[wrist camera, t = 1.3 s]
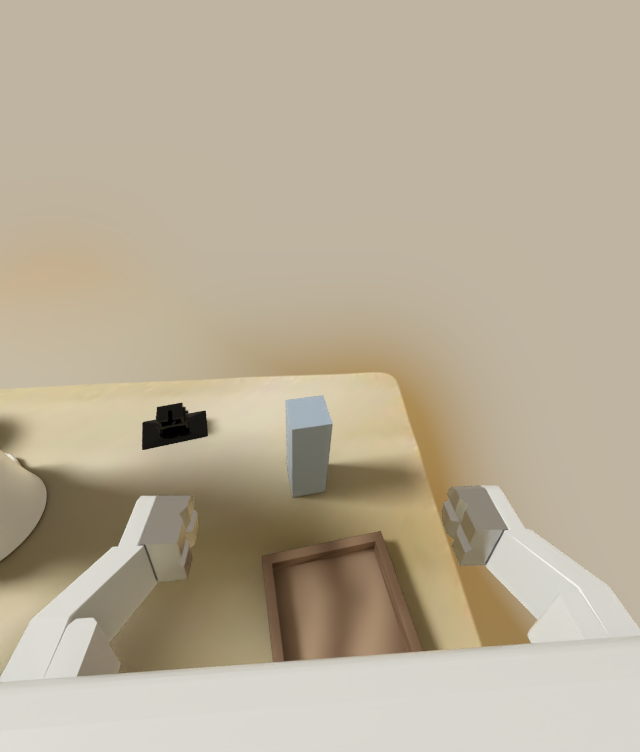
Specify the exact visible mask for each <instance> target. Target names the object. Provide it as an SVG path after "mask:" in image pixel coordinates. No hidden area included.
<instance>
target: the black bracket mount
mask: <svg viewBox="0 0 640 752" xmlns="http://www.w3.org/2000/svg"><path fill="white" fill-rule="evenodd" d="M206 436H208V431H207V420H206V411H200V412H195V413H189V414H188V410H186V407H183V403H178V404H172V405H167V406H161V407H157V412H156V420H152V421H146V422H143V431H142V450H145V449H150V448H155V447H159V446H164V445H169V444H174V443H178V442H183V441H188V440H192V439H197V438H202V437H206Z"/></svg>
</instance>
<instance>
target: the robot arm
mask: <svg viewBox="0 0 640 752" xmlns="http://www.w3.org/2000/svg"><path fill="white" fill-rule="evenodd" d="M447 495H448V498H449V500H447V501H446V502H445V503H444V504H443V507H442V522H443V526H444V528H445V531H446V533H447V534H448V535H449V536H451V537H452V538H453V542H452V548H453V551H454V553H455V556H456V558H457V560H458V563H459V565H460V566H465V565H466V566H467V565H486V568H488V570H490V572H492V574H493V575H494V576H495V577H496V578H497V579H498V580H499V581H500V582H501V583H502V584H503V585H504V586H505V587H506V588H507V589H508V590H509V591H510V592H511V593H512V594H513V595H514V596H515V597H516V598H517V599H518V600H519V601H520V602H521V603H522V604H523V605H524V606H525V607H526V608H527V609H528V610H529V611H530V612H531V613H532V614H533V615H534V616H535V617H536V618H537V619H538V620H537V621H536V622H535V624H534V625H533V626H532V628H531V629H530V630H529V632H528V637H529V639H530V641H531V643H530V644H516V645H504V646H489V647H475V648H461V649H447V650H433V651H420V652H406V653H392V654H378V655H365V656H351V657H337V658H323V659H310V660H296V661H282V662H269V663H255V664H241V665H227V666H214V667H200V668H186V669H173V670H159V671H145V672H131V673H119V670H120V666H121V662H120V661H119V659H118V657H117V655H116V654H115V652H114V650H113V649H112V647H111V645H110V642H111V641H112V640H113V639H114V637H115V636H116V635H117V634H118V632H119V631H120V630H121V629H122V627H123V626H124V625H125V624H126V622H127V621H128V620H129V619H130V617H131V616H132V615H133V614H134V612H135V611H136V610H137V609H138V607H139V606H140V605H141V604H142V602H143V601H144V600H145V599H146V597H147V596H148V595H149V594H150V592H151V591H152V590H153V589H154V587H155V586H156V585H157V582H161V581H174V580H187V579H188V575H189V570H190V566H191V561H192V554H191V548H192V546H193V545H194V544H195V543H196V539H197V533H198V514H197V511H195V510H194V505H195V500H194V496H193V495H158V496H140V498H139V499H138V500H137V502H136V504H135V507H134V509H133V511H132V514H131V516H130V519H129V521H128V524H127V526H126V528H125V531H124V533H123V536H122V538H121V541H120V543H119V545H118V546H116V547H112V548H111V549H110V550H109V551H107V552H106V553H105V554H104V555H103V556H102V557H101V558H100V559H98V560H97V561H96V562H95V563H94V564H93V565H92V566H91V567H89V568H88V569H87V570H86V571H85V572H84V573H83V574H82V575H80V576H79V577H78V578H77V579H76V580H75V581H74V582H73V583H71V584H70V585H69V586H68V587H67V588H66V589H65V590H64V591H62V592H61V593H60V594H59V595H58V596H57V597H56V598H55V599H53V600H52V601H51V602H50V603H49V604H48V605H47V606H46V607H45V608H43V609H42V610H41V611H40V612H39V613H38V614H37V615H36V616H34V617H33V618H32V619H31V621H30V622H29V624H28V626H27V628H26V630H25V632H24V634H23V636H22V638H21V639H20V641H19V643H18V645H17V647H16V649H15V651H14V653H13V654H12V656H11V658H10V660H9V662H8V664H7V666H6V668H5V670H4V671H3V673H2V675H1V677H0V752H640V629H639V628H638V626H637V625H636V624H635V622H634V621H633V619H632V618H631V616H630V615H629V614H628V612H627V611H626V610H625V608H624V607H623V605H622V604H621V603H620V601H619V600H618V599H617V597H616V596H615V594H614V593H613V592H612V590H611V589H610V587H609V586H608V585H606V584H605V583H604V582H602V581H601V580H599V579H598V578H597V577H595V576H594V575H592V574H591V573H590V572H588V571H587V570H586V569H584V568H583V567H582V566H580V565H578V564H577V563H576V562H575V561H573V560H572V559H570V558H569V557H568V556H566V555H565V554H564V553H562V552H561V551H559V550H558V549H557V548H555V547H554V546H553V545H551V544H550V543H548V542H547V541H546V540H544V539H543V538H541V537H540V536H539V535H537V534H536V533H534V532H533V531H532V530H530V529H525V527H524V526H523V524H522V523H521V521H520V520H519V518H518V516H517V515H516V513H515V511H514V510H513V508H512V506H511V505H510V503H509V502H508V500H507V498H506V497H505V495H504V494H503V492H502V491H501V489H500V488H499V487H498V486H497V485H496V486H494V485H493V486H460V487H451V488H450V489H449V491H448V493H447ZM46 499H47V492H46V488H45V485H44V483H43V481H42V480H41V479H40V478H39V477H38V476H36V475H35V474H33V473H31V472H30V471H28V470H26V469H24V468H23V467H22V466H21V465H20V463H19V462H18V460H17V459H16V458H15V457H14V456H13V455H11V454H5V453H4V452H3V451H1V450H0V561H1V560H2V559H4V558H5V557H6V556H8V555H9V554H10V553H11V552H12V551H14V550H15V549H16V548H17V547H18V546H19V545H20V544H21V543H22V542H23V541H24V540H25V539H26V538H27V537H28V535H29V534H30V533H31V532H32V530H33V529H34V528H35V526H36V525H37V523H38V521H39V520H40V518H41V516H42V514H43V511H44V508H45V505H46Z"/></svg>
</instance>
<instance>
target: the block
mask: <svg viewBox="0 0 640 752" xmlns="http://www.w3.org/2000/svg"><path fill="white" fill-rule="evenodd" d="M331 433H332V421H331V418H330V415H329V412H328V409H327V406H326V402H325V399H324V396H323V395H322V396H314V397H306V398H298V399H290V400H286V438H287V470H288V476H289V481H290V486H291V492H292V497H298V496H303V495H309V494H314V493H320V492H325V490H326V481H327V471H328V461H329V452H330V442H331Z"/></svg>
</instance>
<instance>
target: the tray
mask: <svg viewBox="0 0 640 752" xmlns="http://www.w3.org/2000/svg"><path fill="white" fill-rule="evenodd" d="M262 563H263V572H264V582H265V591H266V601H267V610H268V620H269V629H270V639H271V648H272V658H273V662H282V661H296V660H310V659H323V658H337V657H351V656H365V655H378V654H392V653H406V652H420V651H423V650H422V647H421V644H420V641H419V638H418V635H417V633H416V630H415V627H414V624H413V621H412V618H411V616H410V613H409V610H408V607H407V604H406V601H405V599H404V596H403V593H402V590H401V587H400V584H399V582H398V579H397V576H396V573H395V570H394V567H393V565H392V562H391V559H390V556H389V553H388V550H387V548H386V545H385V542H384V539H383V536H382V533H381V531H379V532H374V533H369V534H364V535H360V536H355V537H350V538H345V539H341V540H336V541H331V542H326V543H321V544H317V545H312V546H307V547H302V548H298V549H293V550H288V551H283V552H278V553H274V554H269V555H264V556H262Z"/></svg>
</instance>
